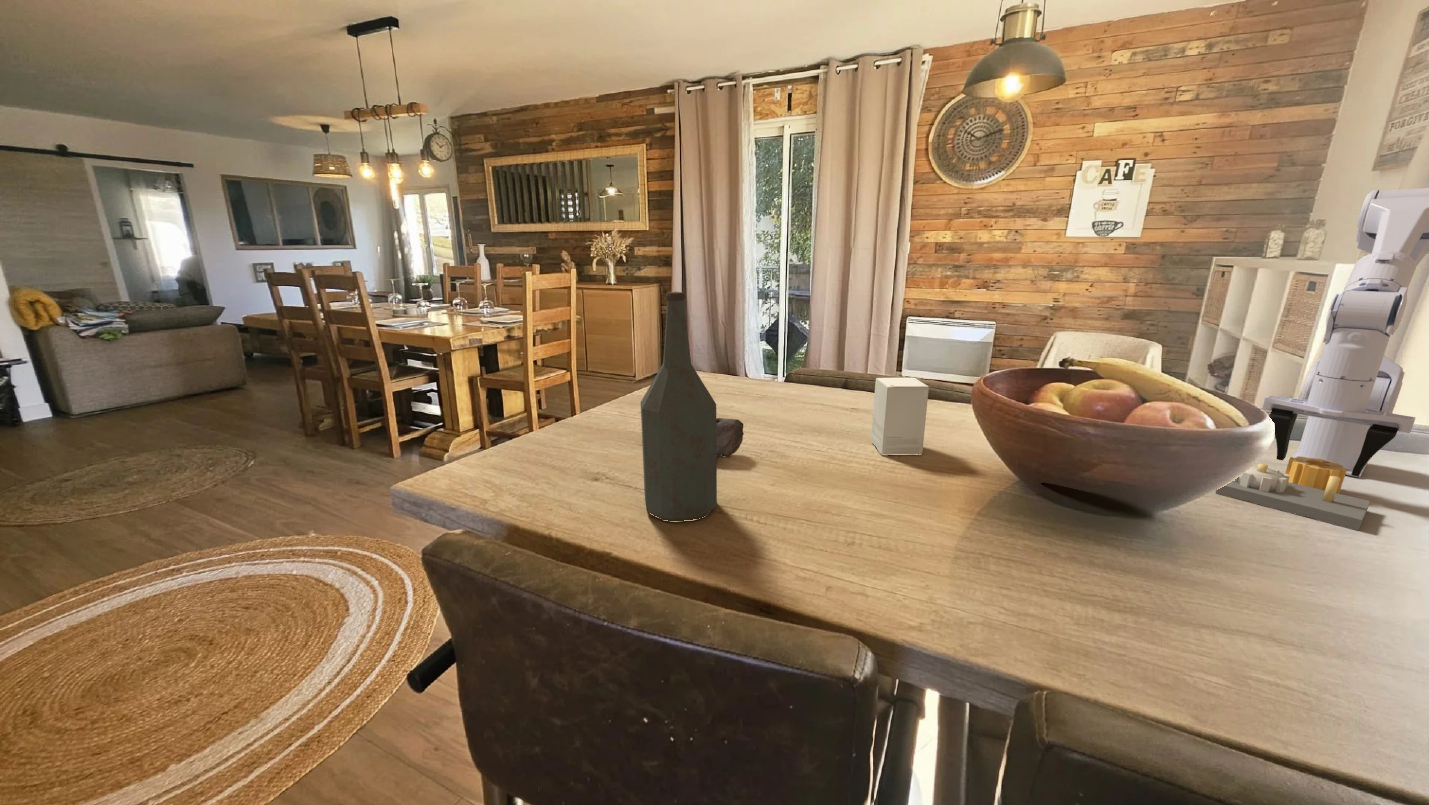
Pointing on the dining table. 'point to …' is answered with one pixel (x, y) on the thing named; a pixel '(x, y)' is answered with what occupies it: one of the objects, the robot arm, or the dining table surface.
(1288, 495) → the gear board
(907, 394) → the supplement box
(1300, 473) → the amber gear
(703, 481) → the bottle
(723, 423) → the dark brown rounded piece
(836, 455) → the dining table surface
